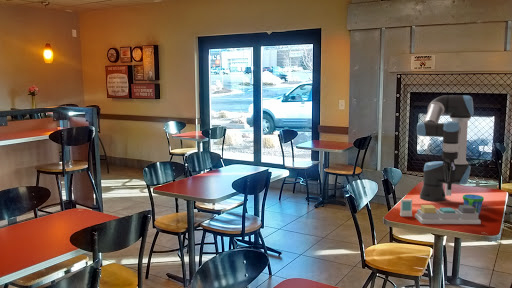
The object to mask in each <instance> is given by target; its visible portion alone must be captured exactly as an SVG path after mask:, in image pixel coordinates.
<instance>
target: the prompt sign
mask: <svg viewBox="0 0 512 288" xmlns="http://www.w3.org/2000/svg"><path fill="white" fill-rule="evenodd" d="M399 215H400V217H413V199H410V198H409V199H400V212H399Z"/></svg>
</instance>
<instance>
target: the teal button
mask: <svg viewBox="0 0 512 288" xmlns="http://www.w3.org/2000/svg"><path fill="white" fill-rule="evenodd" d="M439 209H440V211H441V212H442V213H455V209H454V208H452V207H439Z"/></svg>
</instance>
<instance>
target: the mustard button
mask: <svg viewBox="0 0 512 288" xmlns="http://www.w3.org/2000/svg"><path fill="white" fill-rule="evenodd" d="M420 209H421V211H422V212H423V213H436V209H437V208H436V207H435V206H434V205H433V204H421V205H420Z"/></svg>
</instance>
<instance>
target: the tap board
mask: <svg viewBox="0 0 512 288" xmlns="http://www.w3.org/2000/svg"><path fill="white" fill-rule="evenodd" d="M454 210H455V213H442V212H441V211H440V208H436V213H423V212H422V211H421V208H417V210H416V213H414V218H415V219H416V220H417V221H418V222H419V223H420V224H422V225H423V224H424V225H425V224H426V225H429V224H430V225H431V224H432V225H481V224H482V223H481V222H482V220H481V219H480V218H479V216H480V214H478V213H477V212H475V213H462V212H460V211H459V208H455V209H454Z"/></svg>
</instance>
